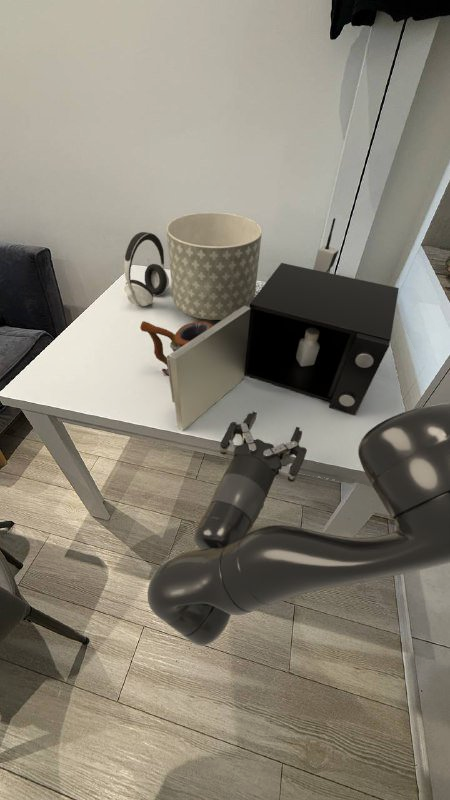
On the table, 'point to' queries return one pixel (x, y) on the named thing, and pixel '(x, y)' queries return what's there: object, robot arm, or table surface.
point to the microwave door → (208, 366)
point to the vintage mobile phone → (326, 255)
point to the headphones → (153, 275)
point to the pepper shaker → (308, 348)
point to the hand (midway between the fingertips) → (275, 422)
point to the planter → (213, 263)
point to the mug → (173, 337)
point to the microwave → (339, 333)
